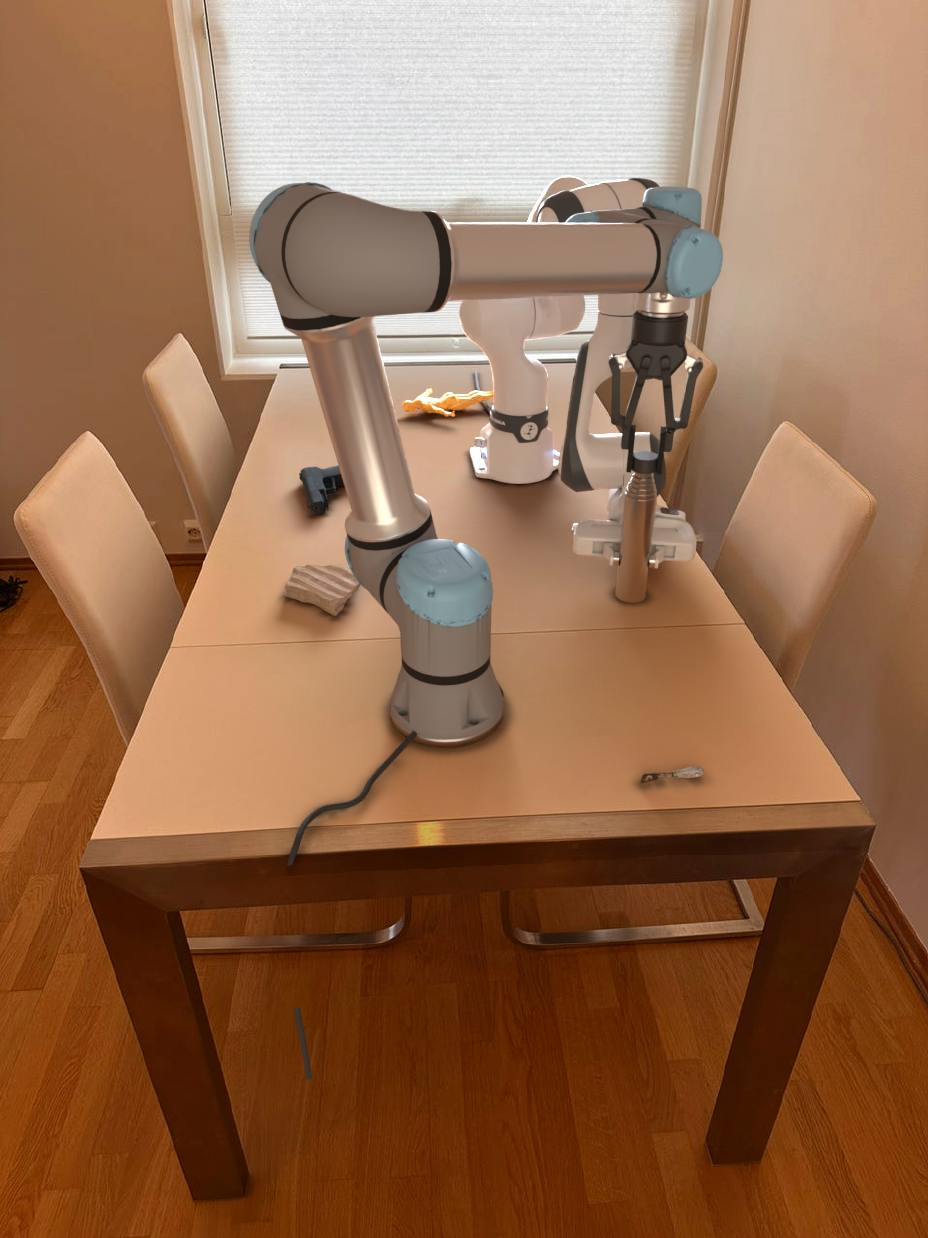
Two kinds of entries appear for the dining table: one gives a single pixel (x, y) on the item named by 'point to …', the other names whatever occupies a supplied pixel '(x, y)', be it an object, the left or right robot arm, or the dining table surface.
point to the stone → (322, 586)
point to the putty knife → (674, 774)
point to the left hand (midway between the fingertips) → (643, 469)
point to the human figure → (445, 402)
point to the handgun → (320, 486)
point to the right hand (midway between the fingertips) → (634, 563)
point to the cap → (644, 462)
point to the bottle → (636, 538)
